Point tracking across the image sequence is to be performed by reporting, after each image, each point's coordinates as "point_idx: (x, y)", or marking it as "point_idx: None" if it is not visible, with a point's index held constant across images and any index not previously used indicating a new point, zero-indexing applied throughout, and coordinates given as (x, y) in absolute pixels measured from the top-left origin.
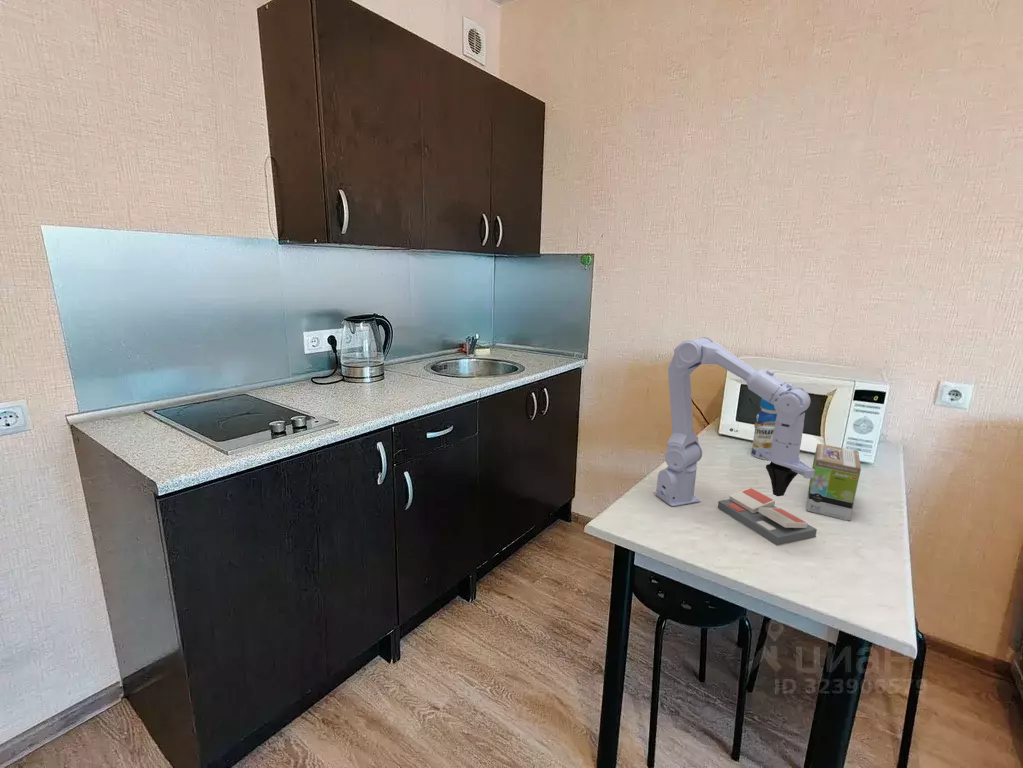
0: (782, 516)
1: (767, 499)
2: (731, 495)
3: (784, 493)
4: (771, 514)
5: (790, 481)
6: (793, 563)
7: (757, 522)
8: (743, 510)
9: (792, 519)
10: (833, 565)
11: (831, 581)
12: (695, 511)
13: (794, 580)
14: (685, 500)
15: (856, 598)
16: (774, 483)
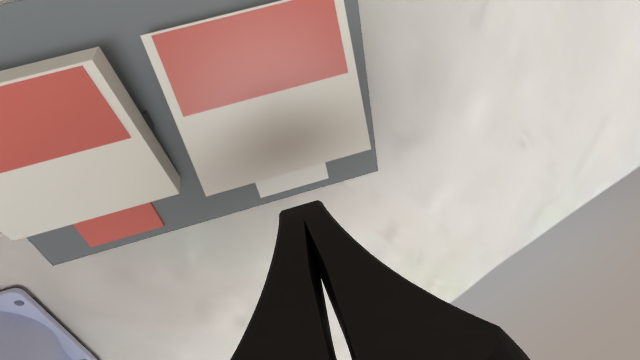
0: (292, 118)
1: (73, 96)
2: (11, 234)
3: (325, 208)
4: (283, 173)
5: (387, 272)
6: (460, 158)
7: (267, 195)
8: (152, 206)
9: (318, 76)
10: (518, 30)
11: (561, 103)
12: (121, 311)
13: (512, 195)
14: (54, 342)
15: (631, 87)
16: (331, 337)
